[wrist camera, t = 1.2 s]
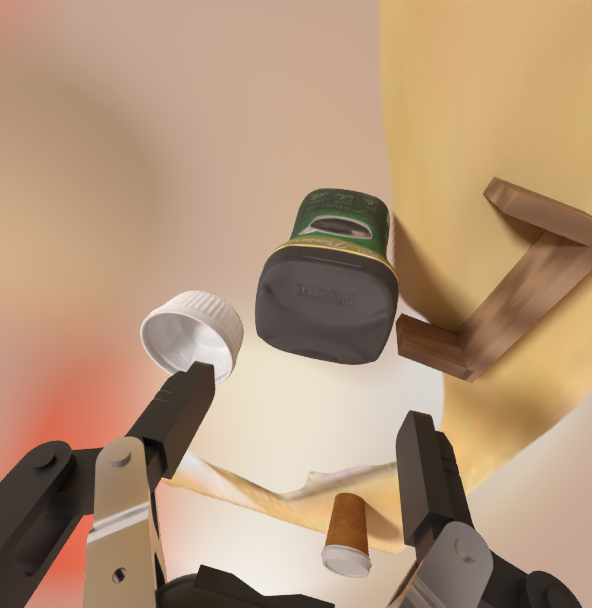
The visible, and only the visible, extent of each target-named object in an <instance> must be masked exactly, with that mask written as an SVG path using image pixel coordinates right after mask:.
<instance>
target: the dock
mask: <svg viewBox="0 0 592 608" xmlns="http://www.w3.org/2000/svg"><path fill="white" fill-rule="evenodd" d="M483 194H484V195H485V196H486V197H487V198H488V199H489V200H490V201H491V202H493V203H494V204H495V205H496V206H497V207H498V208H499V209H500V210H501V211H502V212H503V213H505V214H507V215H510V216H512V217H515V218H517V219H520V220H522V221H525V222H528V223H530V224H533V225H535V226H538V227H540V228H543V229H546V231H545V232H544V233H543V234H542V235H541V236H540V238H539V239H538V240H537V241H536V242H535V243H534V245H533V246H532V247H531V248H530V249H529V250H528V251H527V253H526V254H525V255H524V256H523V257H522V258H521V260H520V261H519V262H518V263H517V264H516V265H515V266H514V268H513V269H512V270H511V271H510V272H509V273H508V274H507V276H506V277H505V278H504V279H503V280H502V281H501V283H500V284H499V285H498V286H497V287H496V288H495V289H494V291H493V292H492V293H491V294H490V295H489V296H488V298H487V299H486V300H485V301H484V302H483V303H482V304H481V306H480V307H479V308H478V309H477V310H476V311H475V312H474V314H473V315H472V316H471V317H470V318H469V319H468V321H467V322H466V323H465V324H464V325H463V326H462V327H461V329H460V330H459V331H458V332H457V333H456V334H454V333H452V332H449V331H446V330H444V329H441V328H439V327H436V326H434V325H431V324H428V323H426V322H423V321H421V320H418V319H415V318H413V317H410V316H407V315H405V314H401V315H400V317H399V318H398V320H397V321H396V333H397V344H398V354H399V355H400V356H403V357H405V358H408V359H411V360H413V361H416V362H418V363H421V364H424V365H426V366H429V367H431V368H434V369H437V370H439V371H442V372H444V373H447V374H450V375H452V376H455V377H457V378H460V379H462V380H465V381H468V382H470V383H473V382H474V381H475V380H476V379H477V378H478V377H479V376H480V375H481V374H482V373H483V372H484V371H485V370H486V369H487V368H488V367H489V366H491V365H492V364H493V363H494V362H495V361H496V360H497V359H498V358H499V357H500V356H501V355H502V354H503V353H504V352H505V351H506V350H507V349H509V348H510V347H511V346H512V345H513V344H514V343H515V342H516V341H517V340H518V339H519V338H520V337H521V336H522V335H523V334H524V333H525V332H527V331H528V330H529V329H530V328H531V327H532V326H533V325H534V324H535V323H536V322H537V321H538V320H539V319H540V318H541V317H542V316H543V315H545V314H546V313H547V312H548V311H549V310H550V309H551V308H552V307H553V306H554V305H555V304H556V303H557V302H558V301H559V300H560V299H561V298H563V297H564V296H565V295H566V294H567V293H568V292H569V291H570V290H571V289H572V288H573V287H574V286H575V285H576V284H577V283H578V282H579V281H581V280H582V279H583V278H584V277H585V276H586V275H587V274H588V273H589V272H590V271H591V270H592V216H591V215H589V214H587V213H586V212H584V211H581V210H579V209H576V208H574V207H571V206H568V205H566V204H563V203H561V202H558V201H555V200H553V199H550V198H548V197H545V196H543V195H540V194H537V193H535V192H532V191H530V190H527V189H525V188H522V187H519V186H517V185H514V184H512V183H509V182H507V181H504V180H501V179H499V178H496V177H494V178H493V180H492V181H491V182H490V184H489V185H488V187H487V188H486V190H485V191H484V193H483Z"/></svg>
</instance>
